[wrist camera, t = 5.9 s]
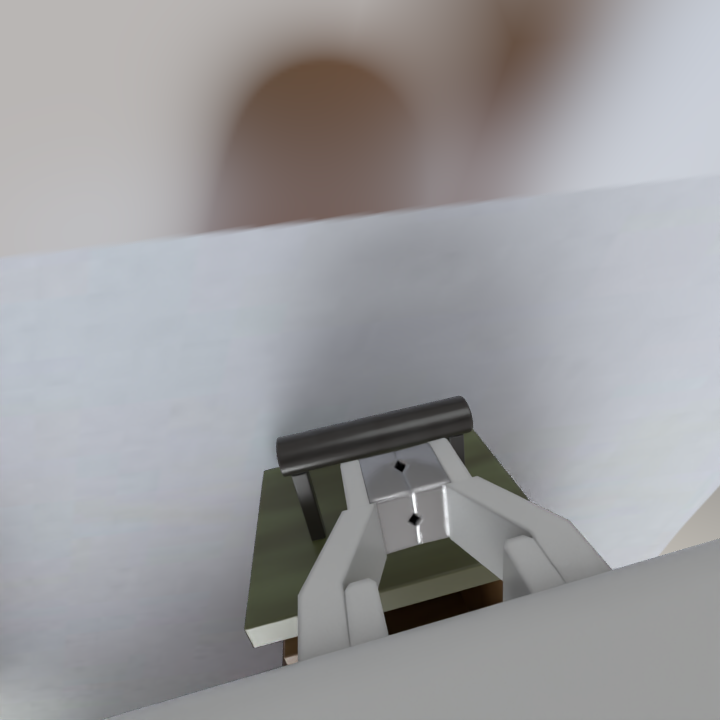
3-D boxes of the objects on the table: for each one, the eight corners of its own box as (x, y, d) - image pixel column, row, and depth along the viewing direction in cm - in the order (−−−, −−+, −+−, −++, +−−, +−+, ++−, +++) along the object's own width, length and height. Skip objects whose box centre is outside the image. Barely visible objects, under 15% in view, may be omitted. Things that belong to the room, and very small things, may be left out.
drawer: (235, 390, 17) (189, 525, 10) (464, 340, 18) (576, 430, 11) (316, 620, 24) (325, 789, 17) (473, 577, 25) (542, 720, 18)
